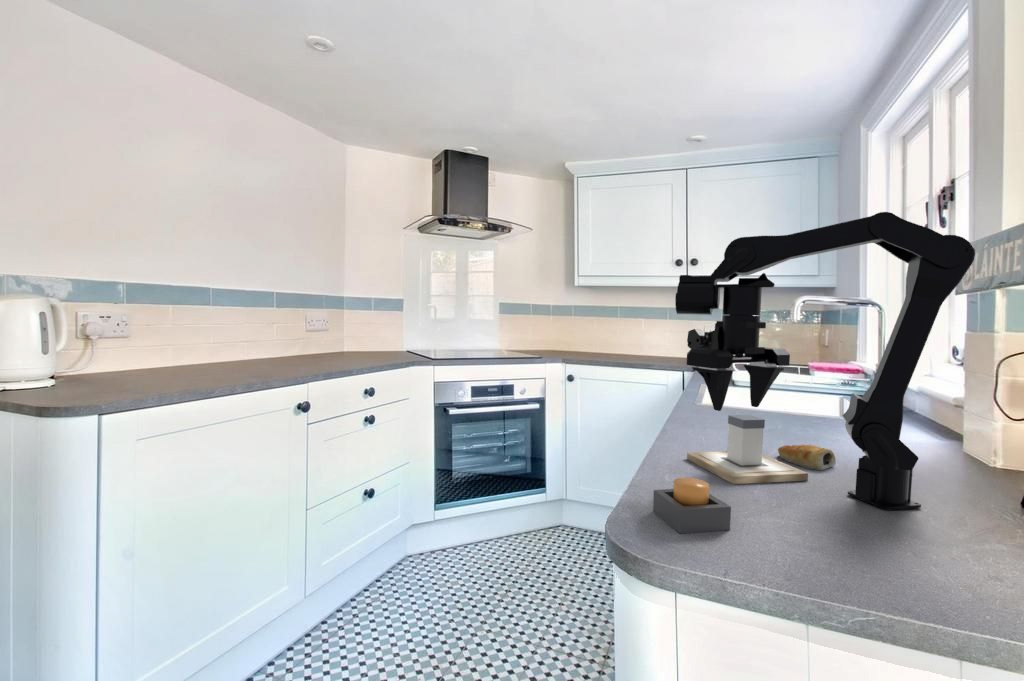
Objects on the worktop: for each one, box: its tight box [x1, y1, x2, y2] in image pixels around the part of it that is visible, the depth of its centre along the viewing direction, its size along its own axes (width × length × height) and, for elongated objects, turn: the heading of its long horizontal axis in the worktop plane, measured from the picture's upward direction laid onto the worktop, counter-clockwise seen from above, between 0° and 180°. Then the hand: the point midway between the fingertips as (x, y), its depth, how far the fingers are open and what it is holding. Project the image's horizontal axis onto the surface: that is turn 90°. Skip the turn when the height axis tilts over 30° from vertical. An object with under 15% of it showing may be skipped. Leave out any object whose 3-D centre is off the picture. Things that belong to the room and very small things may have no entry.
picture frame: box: [686, 450, 809, 485], centre depth 88 cm, size 14×14×1 cm
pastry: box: [777, 444, 837, 471], centre depth 94 cm, size 9×7×4 cm
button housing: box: [652, 488, 732, 534], centre depth 65 cm, size 7×7×3 cm
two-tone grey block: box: [727, 414, 766, 465], centre depth 88 cm, size 4×4×8 cm
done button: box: [673, 477, 710, 506], centre depth 65 cm, size 4×4×2 cm
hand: (736, 408), depth 83 cm, fingers open, 9 cm apart
